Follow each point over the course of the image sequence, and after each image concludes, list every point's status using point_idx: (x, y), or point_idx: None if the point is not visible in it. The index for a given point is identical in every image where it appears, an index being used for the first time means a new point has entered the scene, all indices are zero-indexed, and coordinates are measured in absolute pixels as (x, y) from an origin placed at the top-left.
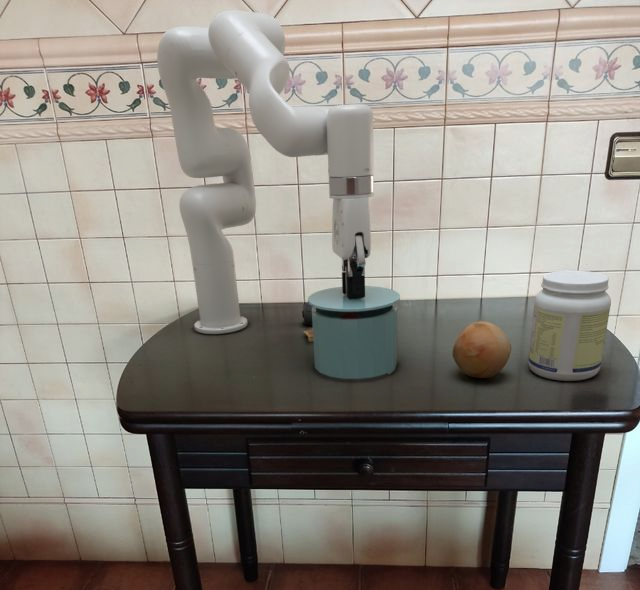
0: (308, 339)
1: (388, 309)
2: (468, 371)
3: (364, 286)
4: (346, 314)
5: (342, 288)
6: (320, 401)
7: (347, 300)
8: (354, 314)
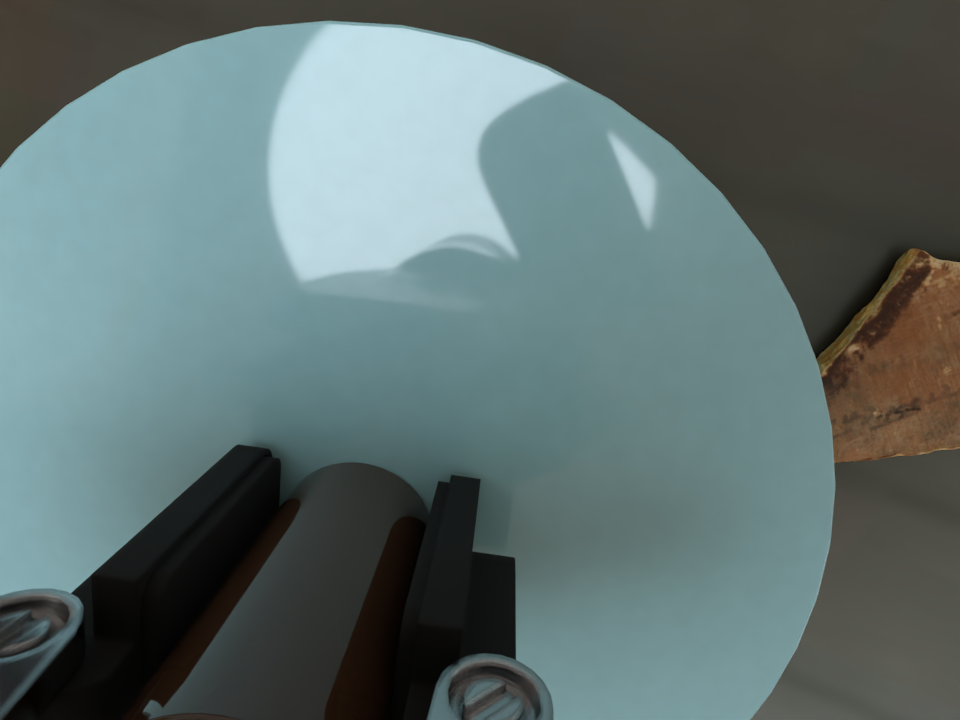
0: (913, 250)
1: None
2: None
3: None
4: None
5: (469, 498)
6: (78, 37)
7: (232, 425)
8: None
